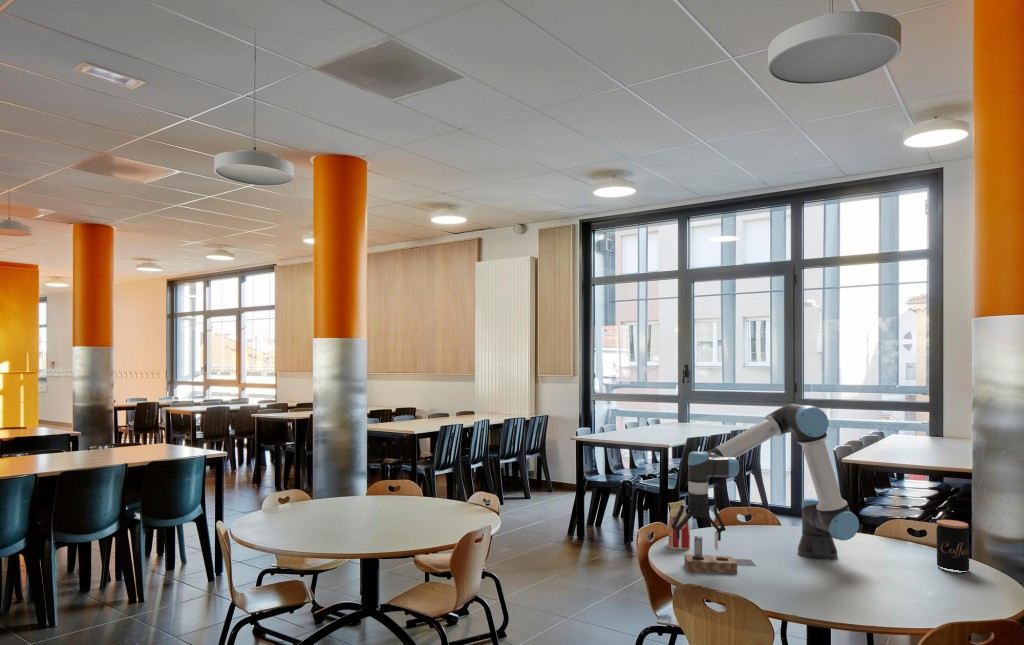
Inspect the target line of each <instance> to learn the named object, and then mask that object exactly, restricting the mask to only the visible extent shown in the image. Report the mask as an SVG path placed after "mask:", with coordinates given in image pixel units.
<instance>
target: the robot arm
mask: <svg viewBox="0 0 1024 645" xmlns="http://www.w3.org/2000/svg"><path fill="white" fill-rule="evenodd" d="M829 424H830V423H829V418H828V415H827V414H826V413H825V411H823V410H822V409H821V408H819V407H816V406H814V405H811V404H799V403H790V404H787V405H783V406H781V407H779V408H777V409H776V410H774V411H771V413H769V414H767V415H765V417H764V420H762V421H760V422H758V423H756V424H755V425H752V426H751V427H749V428H748V429H746V430H744V431H743V432H740V433H738V434H737V435H734V436H733V437H732V438H730V439H728V440H726V441H725V442H723V443H721V444H719V445H718V446H716V447H713V448H712V449H710V450H708V451H706V450H704V451H691V452H689V454H688V458H687V465H688V466H687V467H688V474H687V475H688V477H687V478H688V479H687V480H688V484H687V485H688V486H687V487H688V494H687V500H688V501H687V505H686V504H684V505H683V504H680V508H679V511H678V513H677V515H676V517H675V519H674V521H673V523H672V525H671V527H672V529H675V530H676V538H677V539H679V548H682V531H681V530H680V529H681V528H682V527H683V526H684V525H685V523H686V522H687V521H688V522H689V520H690V519H692V517H694V518H701V519H702V518H704V517H705V518H706V519H707V521H708V522H709V523H710V524H711V525H712V526H713V527H714V529H715V531H714V549H715V550H716V551H718V550H719V542H720V541H721V540H722V535H721V533H722V532H725V531H726V530H727V528H726V527H725V525H724V523H723V521H722V519H721V516H720V514H719V513H718V507H717V506H716V505H715V504H713V505H709V494H708V493H709V478H713V477H714V478H733V477H736V476H738V474H739V473H740V464H739V461H738V459H737V458H738V457H740V456H742V455H744V454H746V453H747V452H748V451H750V450H753V449H754V448H756V447H758V446H760V445H762V444H763V443H765V442H767V441H768V440H770V439H772V438H774V437H781V436H782V435H785V434H788V433H789V434H790V433H793V434H794V438H795V441H796V443H797V444H798V445H801V447H802V451H803V454H804V457H805V461H806V463H807V467H808V470H809V473H810V474H809V475H810V478H811V480H812V483H813V487H814V490H815V493H816V497H817V498H805V499H803V500H802V502H801V537H800V539H799V543H798V545H797V554H798V555H799V556H800V557H804V558H807V559H813V560H818V561H819V560H820V561H832V560H833V561H834V560H836V559H838V551H837V547H836V543H835V541H834V539H835V540H838V541H848V540H851V539H852V538H854V537H855V536H856V534H857V532H858V531H859V528H860V522H859V521H860V520H859V518H858V517H857V515H856V514H854V512H852V511H851V510H850V507H849V504H848V502H847V500H845V499H844V498H842V495H841V491H840V488H839V485H838V484H839V483H838V481H837V478H836V475H835V472H834V468H833V465H832V462H831V457H830V455H829V451H828V448H827V445H826V441H825V440H826V438H827V437H828V435H827V432H828V428H829ZM686 509H687V510H688V512H686V516H685V517H684V518H683V520H682V521H681V522H680V523H679V524H678V525H677V523H678V521H679V519H680V517H681V515H682V513H683V511H686ZM709 511H711V512H712V513H713V514H714V515H715V516H714V517H715V519H716V521H717V522H718V524H719V526H718V525H717V524H716V523H715V521H714V520H713V519H712V517H711V516H710V515H709V514H708V512H709ZM676 525H677V526H676Z"/></svg>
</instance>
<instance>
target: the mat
mask: <svg viewBox="0 0 1024 645" xmlns="http://www.w3.org/2000/svg"><path fill="white" fill-rule="evenodd" d="M733 559H734V560H735V561H736V563H737V567H739V566H741V567H757V565H756V563H755V562H754V561H753V560H752V559H746V558H745V559H744V558H742V559H741V558H733Z"/></svg>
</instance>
